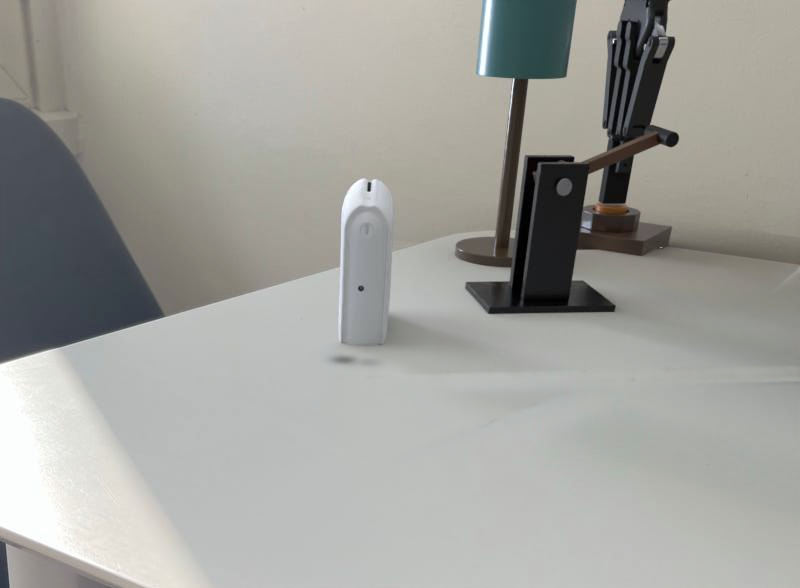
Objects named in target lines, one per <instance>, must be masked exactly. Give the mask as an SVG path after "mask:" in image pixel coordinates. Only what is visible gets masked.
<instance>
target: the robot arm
mask: <svg viewBox="0 0 800 588" xmlns="http://www.w3.org/2000/svg"><path fill="white" fill-rule="evenodd" d="M670 2H671V0H624V3H623V6H622V10H621V12H620V16H619V21H618V23H617V26H616V30H614V29H613V30H612V29H611V30H609V31H608V33H607V35H606V45H607V60H606V74H605V86H604V99H603V110H602V123H601V128H602V130H606V137H607V138H608V139H607V145H606V151H608V150H611V149H613V148H615V147H618V146H620V145H623V144H625V143H627V142H630V141H632V140H634V139H637V138H639V137H641V136H644V131H645V129H646V128H647V127H648V126H649V125H651V124H652V119H653V116H654V112H655V109H656V105H657V101H658V98H659V95H660V90H661V86H662V83H663V80H664V75H665V72H666V69H667V66H668V63H669V60H670V57H671V55H672V52H673V50H674V48H675V45H676V37H675V36H672V35H671V36H667V34H666V33H667V27H668V19H669V17H668V15H669V14H668V13H669V3H670ZM634 157H635V155H633V156H631V157H628V158H626V159H624V160H621V161H619V162H617V163H614V164H612V165H610V166H607V167H605V168H603V170H602V177H601V183H600V188H599V195H598V203H599V202H601V203H602V204H626V202H627V197H628V193H629V192H628V191H629V186H630V180H631V175H632V169H633V163H634ZM626 205H627V204H626Z"/></svg>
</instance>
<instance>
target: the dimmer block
mask: <svg viewBox="0 0 800 588" xmlns="http://www.w3.org/2000/svg"><path fill="white" fill-rule="evenodd" d="M595 206H596V204H588V205H585V206H583V212H582V218H581V225H580V231H579V238H578V244H577V251H593V250H594V251H598V250H599V251H605V252H611V253H618V254H623V255H630V256H637V257H642V256H644V255H646V254H648V253H650V252H651V251H653V250H663V249H665V248H666V247H668V246H669V245H670V240H671V235H672V230H673V226H672V225H666V224H657V223H652V222H651V223H650V222H645V221H644V222H642V221H640V218H641V214H642V212H641V210H639V209H637V208H634V207H630V206H628V208H627V213H621V214H613V213H602V212H597V211H595ZM660 247H663V248H661V249H659V248H660Z"/></svg>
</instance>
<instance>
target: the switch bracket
mask: <svg viewBox="0 0 800 588" xmlns="http://www.w3.org/2000/svg"><path fill="white" fill-rule="evenodd" d="M560 160H563V161H565V162H558V161H560ZM589 167H590V164H589V163H586V162H582V161H575V156H573V155H571V154H570V155H569V154H525V155H524V159H523V167H522V175H521V184H520V192H519V200H518V209H517V216H516V217H517V218H516V224H515V227H516V228H515V233H514V238H515V241H514V249H513V257H512V266H511V267H510V274H509V280H508V281H507V280H505V281H504V280H501V281H497V280H496V281H494V280H493V281H465V286H464V288H465V290H466V291H467V292H468V293H469V294H470V295H471V296H472V297H473V299H474V300H475V301H476V302H477V303H478V305H480V306H481V307H482V308H483V310H484V311H485V312H486V313H487V314H489V315H499V314H500V315H504V314H507V315H508V314H510V315H511V314H559V313H560V314H563V313H565V314H566V313H567V314H569V313H571V314H573V313H615V312H616V304H615V303H614V302H612V301H611V300H610V299H608V298H606V297H605V296H604V295H603V294H601V293H600V292H599V291H598V290H596V289H595V288H594V287H592V286H591V285H590V284H589V283H587V282H585V280H583V279H581V280H579V279H577V280H575V279H573V277H574V271H575V270H574V269H575V263H576V256H577V251H578V250H577V244H578V238H579V231H580V225H581V218H582V212H583V207H584V205H585V199H586V191H587V185H588V178H589V174H588V173H589ZM536 170H537V175H536V183H535V181H534V177H533V172H534V171H536Z"/></svg>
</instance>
